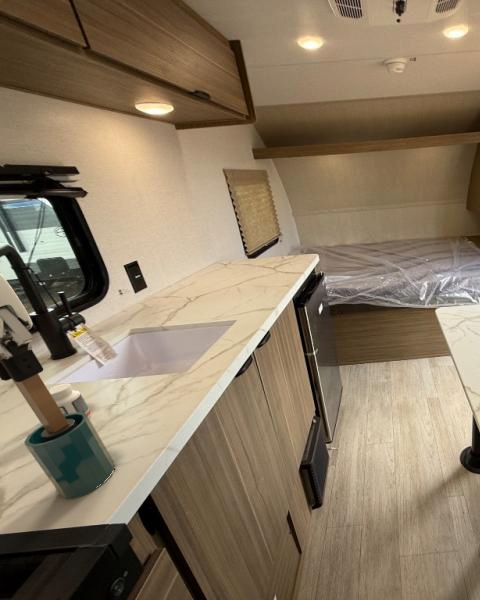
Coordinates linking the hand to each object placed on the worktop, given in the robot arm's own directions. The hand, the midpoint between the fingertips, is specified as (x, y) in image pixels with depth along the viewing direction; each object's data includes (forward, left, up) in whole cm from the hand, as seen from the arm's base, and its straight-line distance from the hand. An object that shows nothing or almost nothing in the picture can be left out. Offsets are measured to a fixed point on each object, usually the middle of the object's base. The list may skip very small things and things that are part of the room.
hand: (23, 375), depth 48 cm
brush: (0, 0, -17) cm, 17 cm away
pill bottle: (-21, +11, -23) cm, 33 cm away
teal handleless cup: (0, 0, -23) cm, 23 cm away
